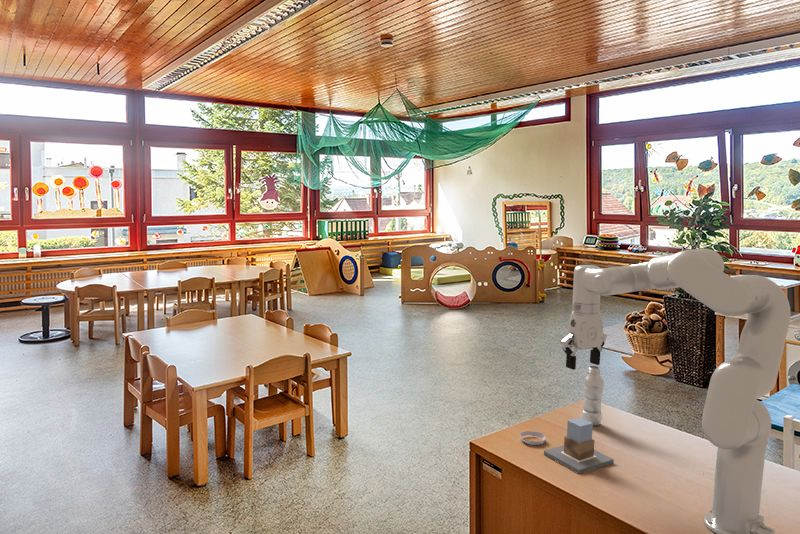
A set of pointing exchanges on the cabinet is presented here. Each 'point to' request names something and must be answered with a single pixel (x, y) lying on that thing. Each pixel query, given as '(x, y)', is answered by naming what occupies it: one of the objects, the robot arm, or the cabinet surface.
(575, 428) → the slate blue cube
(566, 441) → the walnut block
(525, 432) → the lavender ring
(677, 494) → the cabinet surface
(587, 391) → the plastic bottle
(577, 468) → the building board
